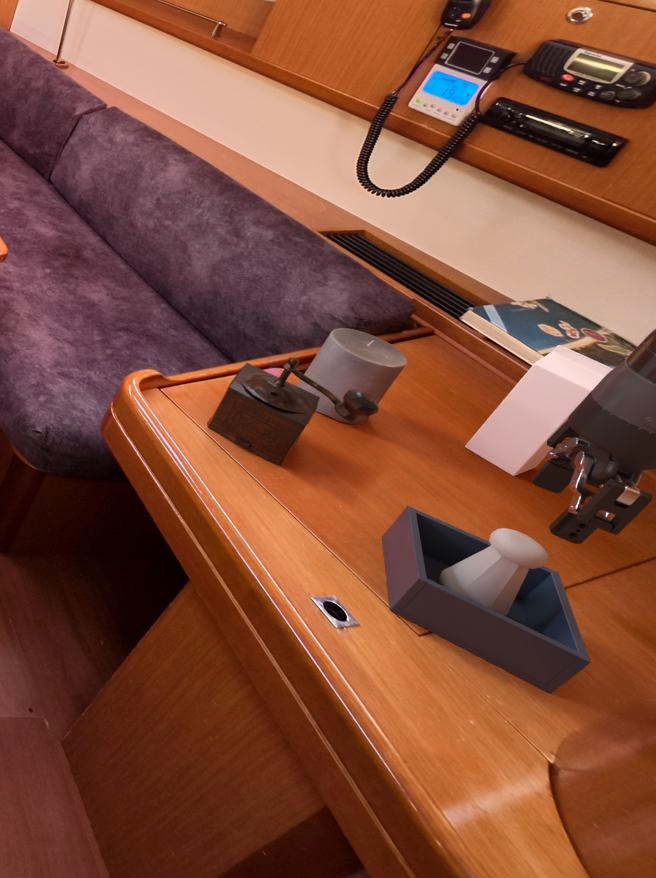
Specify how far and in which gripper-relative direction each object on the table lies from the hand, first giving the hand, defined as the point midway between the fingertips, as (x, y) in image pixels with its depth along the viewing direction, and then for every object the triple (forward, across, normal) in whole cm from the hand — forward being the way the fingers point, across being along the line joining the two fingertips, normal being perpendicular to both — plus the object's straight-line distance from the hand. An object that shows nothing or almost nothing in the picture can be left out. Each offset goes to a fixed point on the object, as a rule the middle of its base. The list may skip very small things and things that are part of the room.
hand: (552, 510), depth 73 cm
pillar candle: (+20, +36, +12) cm, 43 cm away
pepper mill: (+20, +17, +20) cm, 33 cm away
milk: (+20, +40, -9) cm, 46 cm away
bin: (+20, 0, 0) cm, 20 cm away
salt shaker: (+19, 0, 0) cm, 19 cm away
